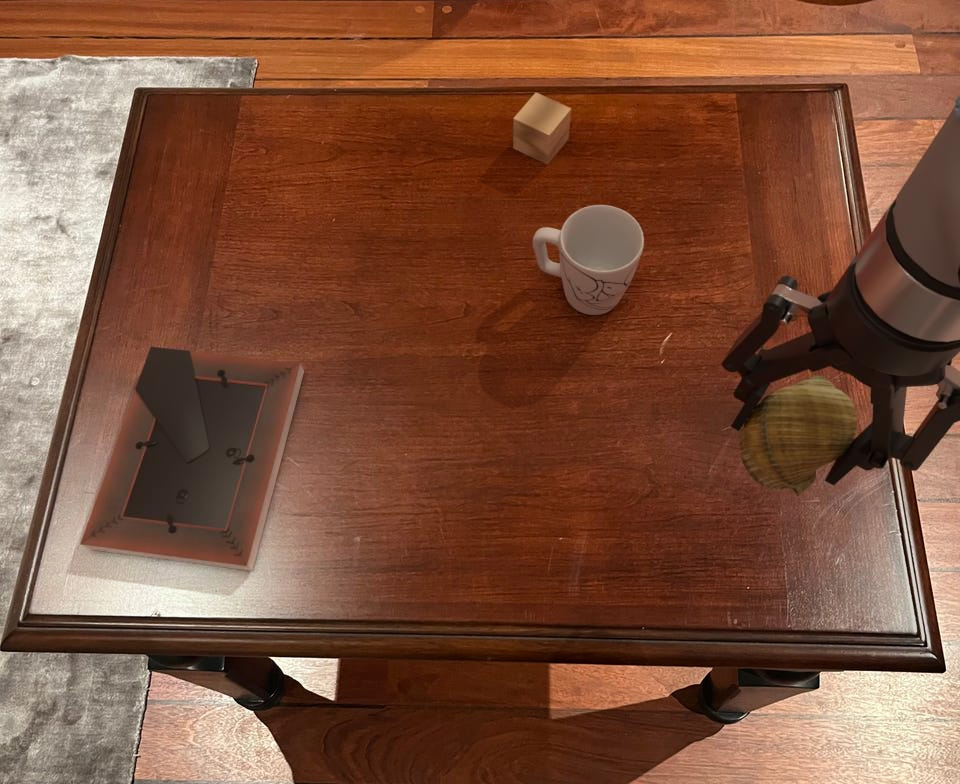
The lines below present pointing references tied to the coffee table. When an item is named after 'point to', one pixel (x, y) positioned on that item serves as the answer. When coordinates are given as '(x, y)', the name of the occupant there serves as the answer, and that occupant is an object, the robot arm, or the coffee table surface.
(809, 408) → the seashell
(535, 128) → the maple block
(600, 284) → the mug
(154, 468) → the picture frame
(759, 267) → the coffee table surface
